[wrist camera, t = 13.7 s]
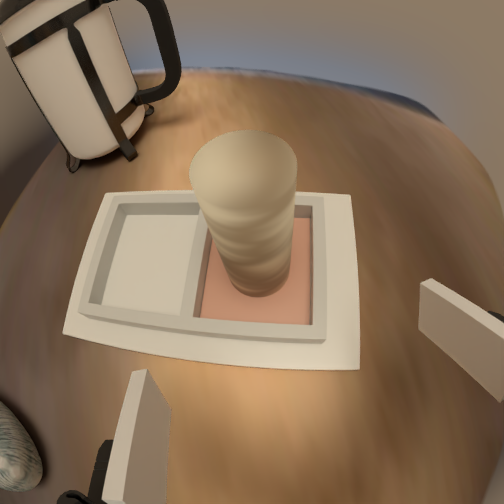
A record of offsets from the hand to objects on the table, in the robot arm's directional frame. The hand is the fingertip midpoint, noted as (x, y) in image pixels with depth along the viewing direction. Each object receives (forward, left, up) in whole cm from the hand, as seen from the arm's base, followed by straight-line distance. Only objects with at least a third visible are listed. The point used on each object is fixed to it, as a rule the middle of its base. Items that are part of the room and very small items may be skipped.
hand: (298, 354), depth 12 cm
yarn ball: (-28, -14, -10) cm, 33 cm away
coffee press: (-24, +27, -10) cm, 37 cm away
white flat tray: (-8, +8, -10) cm, 15 cm away
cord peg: (-3, +8, -9) cm, 12 cm away
